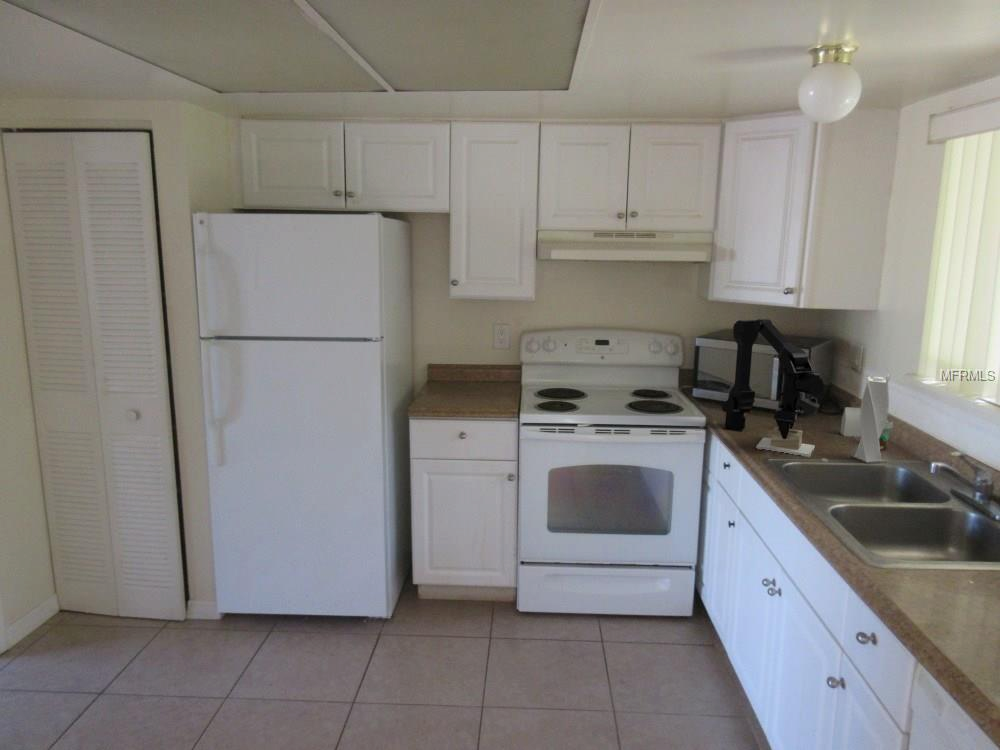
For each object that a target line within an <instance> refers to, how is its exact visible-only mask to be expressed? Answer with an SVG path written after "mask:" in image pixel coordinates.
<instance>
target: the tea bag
mask: <svg viewBox="0 0 1000 750" xmlns="http://www.w3.org/2000/svg"><path fill="white" fill-rule="evenodd" d="M860 409H861V407H847V406H846V407H845V406H844V410H843V414H842V417H841V424H840V425H841V426H840V431H839V433H840V435H842V436H843V435H844V436H843V437H851V436H854V437H855V438H861V430H860Z"/></svg>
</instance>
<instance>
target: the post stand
mask: <svg viewBox="0 0 1000 750" xmlns="http://www.w3.org/2000/svg"><path fill="white" fill-rule="evenodd" d="M790 433H792V432H790ZM770 445H771V437H763V438H762V439H761V440H760V441H759V442H758V444H757V445H756V448H757V450H761V449H766V450H765V451H767V450H772V451H771V452H773V451H778V452H777V453H779V452H784V453H783V454H785V453H789V454H788V455H791V454H794V455H793V456H797V455H801V456H800V457H803V456H804V458H810V457H811V455H812V454H813V452H814V449H816V448H815V445H814V444H808V443H802V442H801V446H800V448H799V449H798V450H794V449H788V448H782V447H776V446H770ZM812 451H813V452H812ZM811 453H812V454H811Z"/></svg>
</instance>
